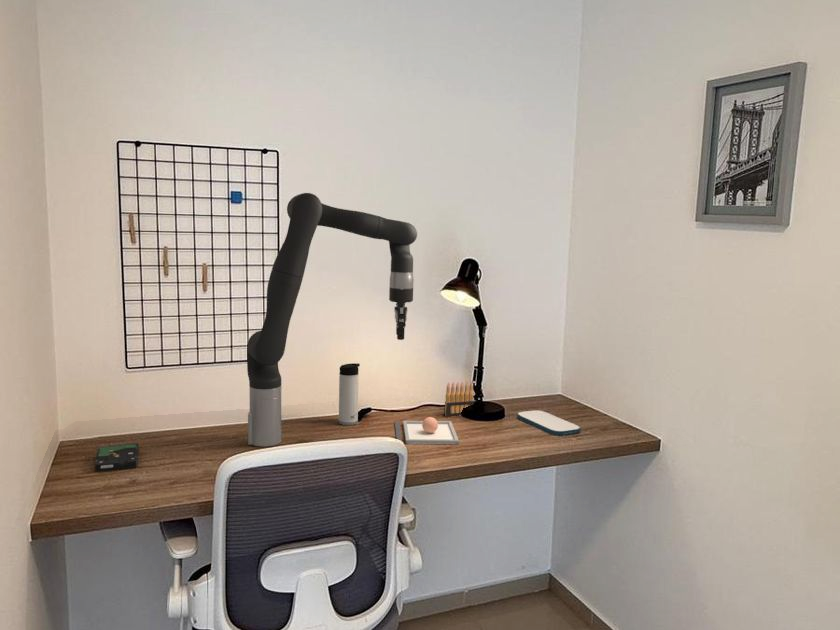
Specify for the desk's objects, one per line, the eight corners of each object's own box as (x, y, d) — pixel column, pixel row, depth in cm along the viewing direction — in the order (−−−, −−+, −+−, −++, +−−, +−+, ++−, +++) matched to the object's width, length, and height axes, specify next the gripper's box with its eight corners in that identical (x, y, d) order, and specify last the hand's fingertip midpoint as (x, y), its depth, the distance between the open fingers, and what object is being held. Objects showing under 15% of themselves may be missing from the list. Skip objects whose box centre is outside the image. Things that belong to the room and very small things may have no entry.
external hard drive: (513, 418, 233) (513, 412, 233) (539, 414, 238) (540, 409, 238) (556, 438, 212) (556, 432, 212) (584, 434, 217) (584, 428, 217)
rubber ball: (422, 434, 209) (423, 419, 208) (421, 430, 214) (422, 414, 213) (438, 435, 209) (439, 419, 208) (436, 430, 214) (437, 415, 213)
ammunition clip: (445, 417, 230) (447, 383, 229) (443, 415, 232) (444, 382, 230) (473, 415, 234) (475, 381, 232) (471, 413, 236) (472, 380, 234)
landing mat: (397, 445, 200) (397, 441, 200) (394, 423, 221) (394, 419, 221) (459, 445, 201) (459, 441, 201) (450, 423, 223) (450, 420, 223)
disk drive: (138, 470, 175) (138, 451, 189) (138, 460, 175) (138, 442, 189) (94, 474, 171) (98, 455, 185) (94, 464, 171) (97, 445, 185)
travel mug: (357, 426, 217) (358, 366, 214) (337, 425, 217) (338, 365, 215) (359, 420, 223) (360, 362, 221) (340, 419, 223) (340, 361, 221)
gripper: (388, 284, 216) (387, 333, 218) (390, 288, 202) (388, 341, 204) (412, 284, 217) (410, 333, 219) (414, 288, 202) (413, 341, 205)
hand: (400, 337), depth 211 cm, fingers open, 8 cm apart
